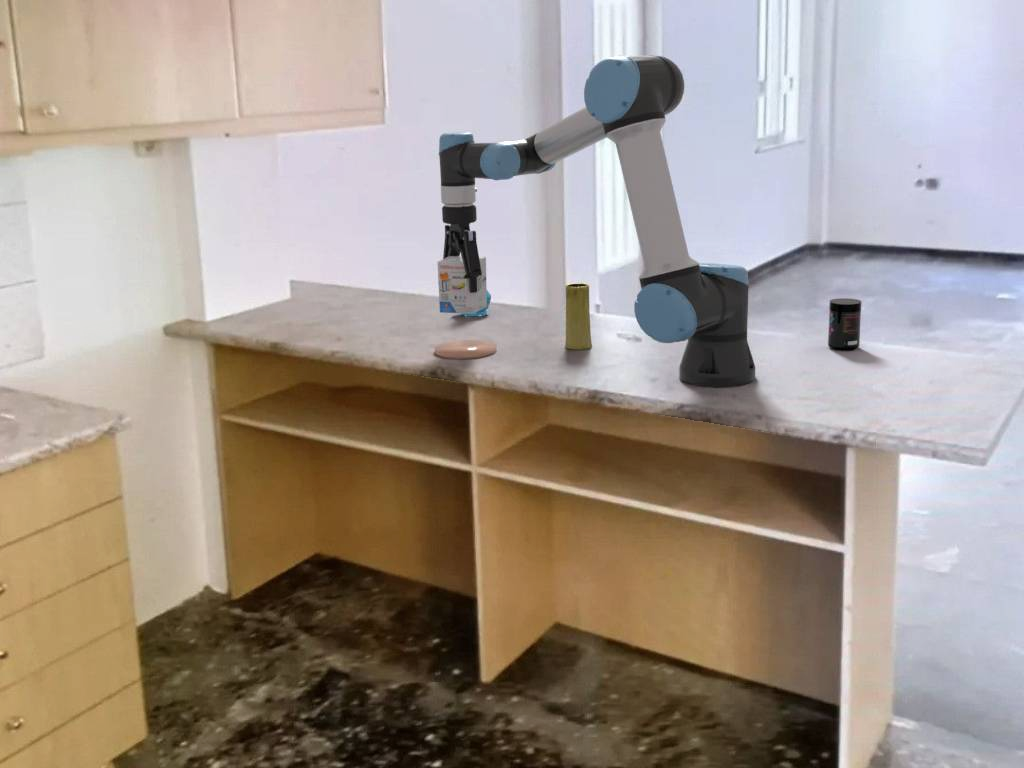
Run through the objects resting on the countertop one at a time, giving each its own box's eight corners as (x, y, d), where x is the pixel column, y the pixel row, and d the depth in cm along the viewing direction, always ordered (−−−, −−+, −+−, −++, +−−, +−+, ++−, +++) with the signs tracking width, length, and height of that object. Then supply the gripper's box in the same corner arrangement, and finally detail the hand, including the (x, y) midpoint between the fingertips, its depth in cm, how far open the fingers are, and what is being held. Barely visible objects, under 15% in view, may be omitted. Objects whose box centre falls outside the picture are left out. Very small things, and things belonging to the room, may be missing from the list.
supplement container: (844, 343, 259) (846, 297, 256) (866, 348, 253) (868, 301, 250) (821, 347, 256) (822, 300, 253) (842, 353, 250) (844, 305, 247)
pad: (505, 354, 259) (505, 349, 259) (446, 361, 254) (446, 357, 254) (483, 341, 272) (483, 337, 272) (426, 348, 267) (426, 344, 267)
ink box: (438, 312, 258) (435, 260, 255) (453, 305, 266) (450, 254, 263) (474, 314, 255) (472, 261, 252) (488, 306, 263) (486, 255, 260)
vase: (590, 350, 260) (589, 287, 256) (563, 350, 261) (561, 287, 257) (593, 344, 266) (592, 282, 262) (567, 343, 267) (565, 282, 263)
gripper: (494, 208, 245) (498, 309, 251) (457, 198, 266) (461, 291, 272) (461, 211, 242) (465, 313, 248) (425, 200, 264) (430, 294, 269)
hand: (463, 302), depth 260 cm, fingers closed on ink box, 11 cm apart
